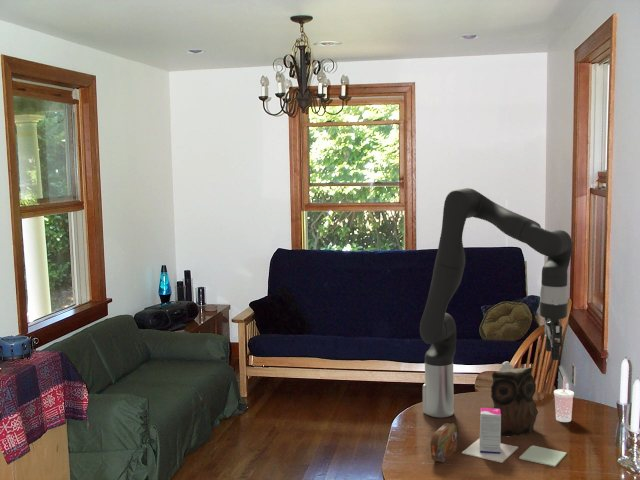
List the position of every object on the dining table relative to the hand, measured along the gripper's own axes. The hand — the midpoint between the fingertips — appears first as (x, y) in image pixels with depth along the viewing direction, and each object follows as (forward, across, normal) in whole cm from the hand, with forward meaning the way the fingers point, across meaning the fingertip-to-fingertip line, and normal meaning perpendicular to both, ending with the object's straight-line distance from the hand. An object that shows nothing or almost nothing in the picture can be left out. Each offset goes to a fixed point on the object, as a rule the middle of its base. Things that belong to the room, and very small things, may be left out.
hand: (552, 355), depth 212 cm
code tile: (+26, +7, -18) cm, 33 cm away
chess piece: (+27, -33, -8) cm, 43 cm away
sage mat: (+26, +10, -4) cm, 28 cm away
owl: (+27, -10, -10) cm, 30 cm away
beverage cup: (+27, -19, +7) cm, 33 cm away
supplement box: (+26, +7, -18) cm, 33 cm away
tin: (+27, +12, -31) cm, 43 cm away
